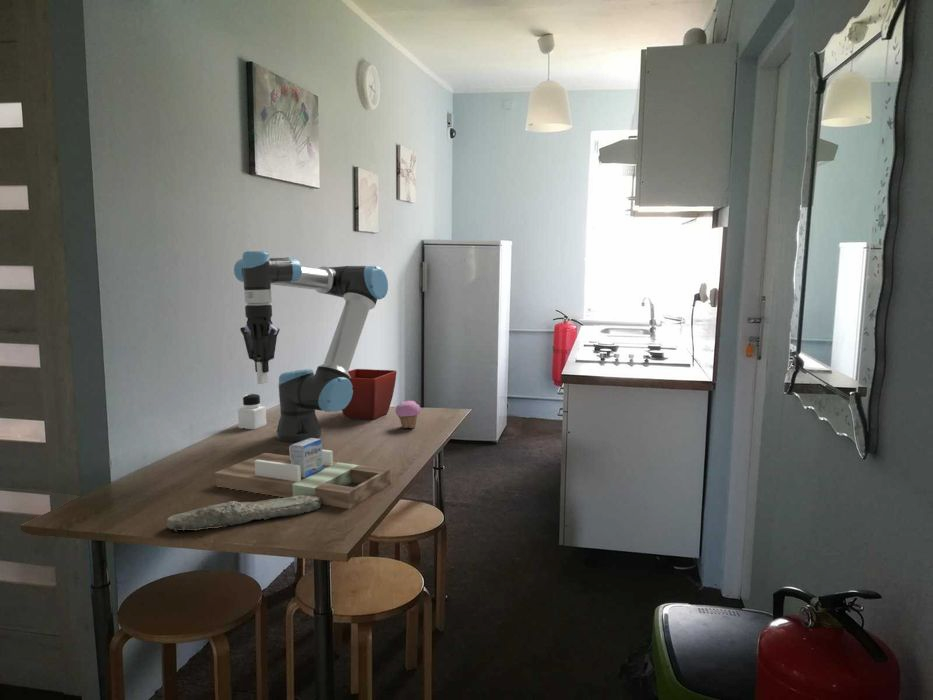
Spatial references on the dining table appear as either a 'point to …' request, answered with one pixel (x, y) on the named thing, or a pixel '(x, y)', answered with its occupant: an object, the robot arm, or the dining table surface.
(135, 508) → the dining table surface
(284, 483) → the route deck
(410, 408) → the cupcake
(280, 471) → the channel walls
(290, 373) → the robot arm
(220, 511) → the elongated rock
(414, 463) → the dining table surface
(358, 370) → the plant pot
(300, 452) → the medicine box
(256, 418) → the medicine bottle
